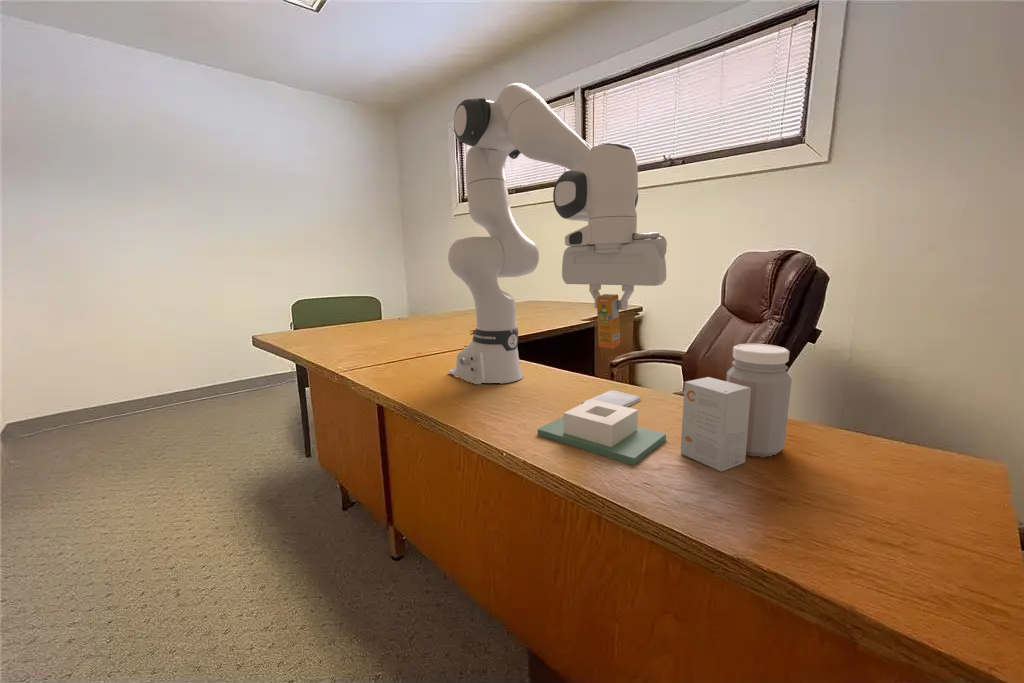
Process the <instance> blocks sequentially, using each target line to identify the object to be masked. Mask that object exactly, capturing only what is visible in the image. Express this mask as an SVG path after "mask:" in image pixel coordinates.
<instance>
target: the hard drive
mask: <svg viewBox="0 0 1024 683" xmlns="http://www.w3.org/2000/svg"><path fill="white" fill-rule="evenodd" d="M591 399H592V400H597V401H601V402H606V403H610V404H615V405H619V406H623V407H628V408H630V406H633V405H634V404H637V403H638V402H640V401H641V400H642V398H641V396H639V395H636V394H632V393H631V394H630V393H626V392H622V391H619V390H618V391H617V390H608V391H606V392H604V393H601V394H599V395H596V396H594V397H592V398H590V399H586V400H584V401H582V402H581V404H583V403H585V402H587V401H589V400H591ZM581 404H580V405H581Z"/></svg>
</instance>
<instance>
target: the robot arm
mask: <svg viewBox="0 0 1024 683" xmlns="http://www.w3.org/2000/svg"><path fill="white" fill-rule="evenodd" d="M453 129H454V133H455V136H456V138H457V140H458V141H459V142H460V143H462V144H465V145H467V146H469V147H470V148H469V149H468V151H467V153H466V157H465V186H466V196H467V203H468V204H467V205H468V213H469V215H470V218H471V219H472V221H474V222H475V223H476V224H477V225H480V226H481V227H483V228H484V229H485V230H486V231H487V233H488V235H489V236H469V237H464V238H460V239H456V240H455V241H454V242H453V243H452V244H451V245H450V248H449V251H448V255H447V256H448V257H447V259H448V260H447V261H448V265H449V267H450V270H451V271H452V272H453V274H454V275H455V276H456V277H458V278H459V279H461V281H462V282H464V283H465V285H466V286H467V287H468V289H469V290H470V292H471V295H472V298H473V300H474V307H475V318H476V328H475V329H472V330H469V332H471V333H469V335H470V336H473V337H472V341H471V342H470V343H468V345H466V346H465V347H464V348H463V349H462V350H460V351H459V352H458V353H457V355H456V366H455V367H453V368H451V369H449V370H448V373H450V374H453V375H455V376H458V377H460V378H463V379H465V380H467V381H470V382H472V383H475V384H474V385H476V384H477V385H482V384H481V383H500V384H509V383H513V382H516V381H520V380H521V379H523V377H524V375H523V372H522V368H521V362H520V357H519V356H520V354H519V350H518V342H519V328H518V327H517V302H516V300H515V298H514V297H513V296H512V295H511V294H509V293H508V292H506V291H504V290H502V289H501V288H500V285H499V282H498V279H502V278H518V277H522V276H526V275H529V274H532V273H533V272H534V271H535V270H536V268H537V267H538V265H539V262H540V261H539V260H540V252H539V249H538V247H537V245H536V243H535V242H534V241H533V240H532V239H530V238H529V237H528V236H527V235H525V233H524V232H523V231H522V230H521V228H520V227H519V225H518V223H517V221H516V219H515V217H514V215H513V212H512V209H511V208H512V207H511V202H510V197H509V189H508V183H507V174H506V161H507V159H508V157H509V158H510V159H512V160H515V159H518V157H519V156H520V155H521V154H522V155H524V157H526V158H528V159H531V160H532V161H533V160H534V161H537V162H543V163H547V164H553V165H557V166H560V167H563V168H566V169H568V170H567V171H566V170H565V172H563V173H562V174H561V175H560V176H559V177H558V178H557V180H556V182H555V184H554V186H553V195H552V197H553V206H554V208H555V211H556V212H557V214H558V215H559V216H560V217H561V218H563V219H565V220H569V221H578V222H579V221H583V222H587V225H585V226H583V227H581V228H579V229H577V230H575V231H573V232H570V233H567V234H566V235H565V236H564V244H565V246H567V247H566V249H565V250H564V251H563V254H562V263H561V264H562V266H561V276H562V277H561V278H562V280H563V282H564V283H565V284H566V285H589V289H588V290H589V292H590V294H591V297H592V298H593V300H594V308H595V309H597V297H598V296H601V295H602V294H600V290H602V286H621V292H624V293H623V294H622V296H621V298H620V299H619V300H616V304H617V306H616V309H618V310H619V311H626V310H628V305H629V304H628V302H629V299H630V298H631V297H632V294H633V293H634V291H635V290H634V289H635V286H637V287H638V286H644V287H645V286H647V287H654V286H655V287H656V286H662V285H663V284H664V283H665V282H666V280H667V265H666V264H667V261H666V255H667V254H666V253H667V245H668V243H667V240H666V237H665V236H663V235H662V234H659V232H654V231H653V232H649V233H645V232H643V233H642V232H639V233H637V228H638V227H637V225H638V224H637V223H638V214H637V210H636V208H637V204H638V202H639V189H638V188H639V187H638V186H639V172H638V170H639V169H638V160H637V156H636V152H635V150H634V148H633V147H632V146H631V145H630V144H626V143H625V144H624V143H619V142H599V143H596V144H594V145H593V146H591V145H590V144H589V143H588V142H587V141H586V140H584V139H583V138H582V137H581V136H580V135H579V134H578V133H576V132H575V131H574V129H572V128H571V127H570V126H568V124H566V123H565V122H564V121H563V120H562V119H561V118H560V117H559V115H557V114H556V113H555V111H553V110H552V108H551V107H550V106H549V104H547V102H546V101H545V100H544V98H542V96H540V95H539V94H538V93H537V92H536V91H534V90H533V89H532V88H530V86H528V85H526V84H524V83H519V82H515V83H510V84H509V85H506V87H504V88H503V89H502V90H501V91H500V93H499V95H498V97H497V100H495V101H494V100H489V99H488V100H487V99H486V98H484V97H482V98H481V97H477V98H466V99H464V100H463V101H461V102H460V103H459V104H458V105H457V107H456V108H455V112H454V118H453ZM467 381H466V382H467ZM472 383H471V384H472Z"/></svg>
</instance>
